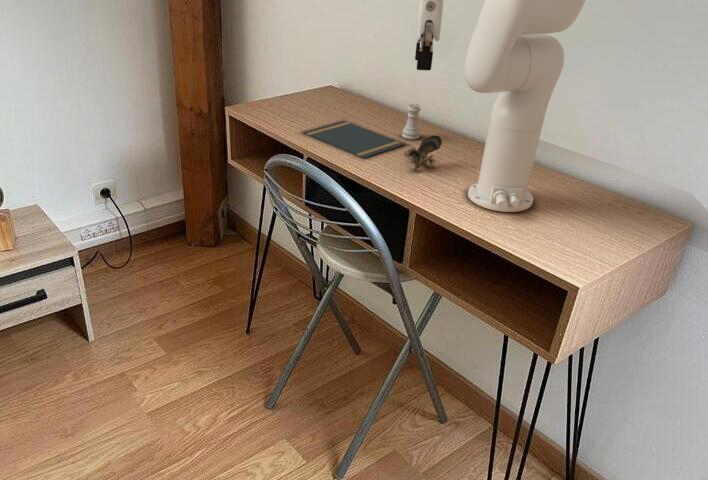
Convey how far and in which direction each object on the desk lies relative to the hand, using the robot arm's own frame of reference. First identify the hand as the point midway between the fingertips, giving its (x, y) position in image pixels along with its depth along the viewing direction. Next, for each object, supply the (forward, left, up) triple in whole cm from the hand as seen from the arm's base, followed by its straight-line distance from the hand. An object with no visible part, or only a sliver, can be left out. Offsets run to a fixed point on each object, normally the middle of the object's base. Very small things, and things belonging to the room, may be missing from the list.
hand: (422, 64), depth 147 cm
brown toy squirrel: (-17, -1, -18) cm, 25 cm away
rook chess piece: (+1, +1, -18) cm, 18 cm away
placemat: (-3, +15, -18) cm, 23 cm away
